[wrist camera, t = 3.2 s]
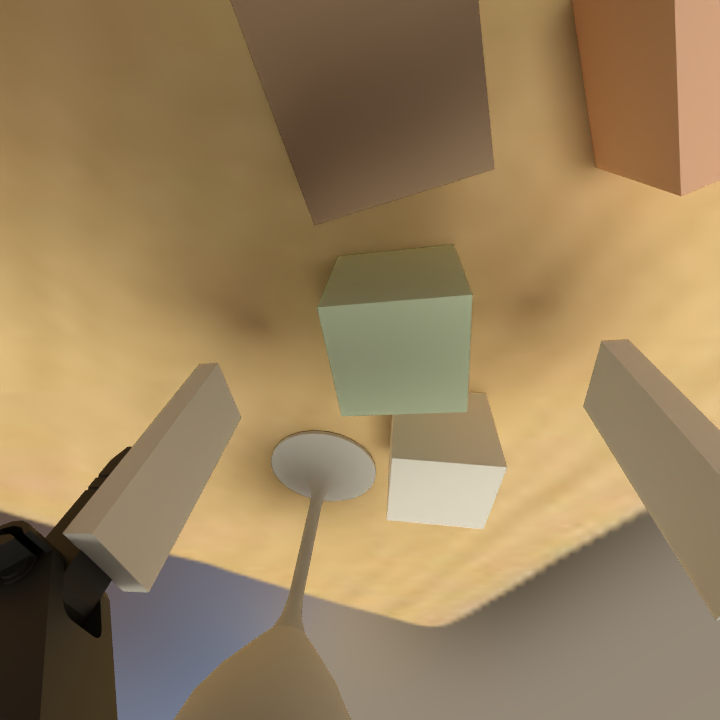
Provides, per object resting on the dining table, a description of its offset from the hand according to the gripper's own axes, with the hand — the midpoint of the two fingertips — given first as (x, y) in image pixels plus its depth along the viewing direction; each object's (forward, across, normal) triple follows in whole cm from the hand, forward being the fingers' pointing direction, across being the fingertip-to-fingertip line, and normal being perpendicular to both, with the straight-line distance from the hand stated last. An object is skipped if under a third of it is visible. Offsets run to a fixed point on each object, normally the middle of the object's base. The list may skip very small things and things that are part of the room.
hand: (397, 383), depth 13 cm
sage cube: (+5, 0, +1) cm, 5 cm away
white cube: (+6, +2, -7) cm, 9 cm away
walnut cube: (+5, 0, +9) cm, 10 cm away
